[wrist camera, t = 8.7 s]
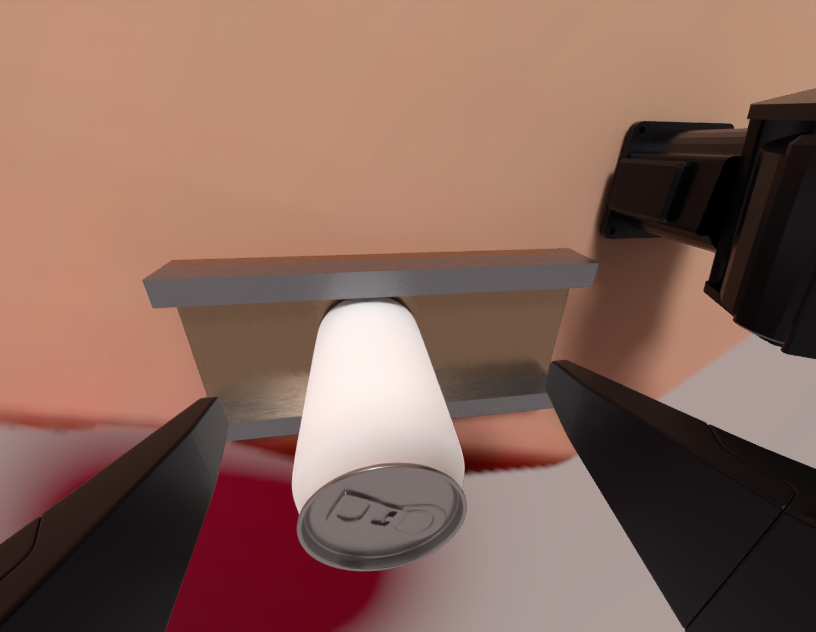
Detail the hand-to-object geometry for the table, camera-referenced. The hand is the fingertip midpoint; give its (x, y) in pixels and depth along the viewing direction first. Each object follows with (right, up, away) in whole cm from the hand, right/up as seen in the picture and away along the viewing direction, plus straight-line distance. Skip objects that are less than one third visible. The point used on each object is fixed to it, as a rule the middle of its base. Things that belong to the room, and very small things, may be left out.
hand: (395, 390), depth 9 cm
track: (-1, +1, +14) cm, 14 cm away
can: (-2, +1, +13) cm, 13 cm away
